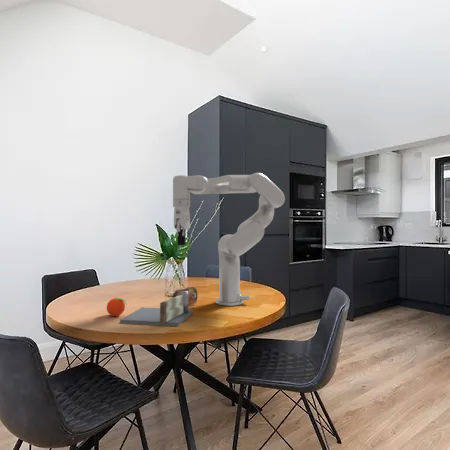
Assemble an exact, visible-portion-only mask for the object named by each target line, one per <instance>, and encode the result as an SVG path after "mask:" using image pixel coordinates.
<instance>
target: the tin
mask: <svg viewBox="0 0 450 450" xmlns="http://www.w3.org/2000/svg"><path fill="white" fill-rule="evenodd" d="M181 291H188V308H190V307H193V306H195V305H196V303H197V301H198V290H197V288H196V287H194V286H187V287H183V288H179V289H176V290H174V292H173V294H172V298H174V297H176V296H179V295H181Z"/></svg>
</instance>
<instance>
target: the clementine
mask: <svg viewBox="0 0 450 450" xmlns="http://www.w3.org/2000/svg"><path fill="white" fill-rule="evenodd" d="M126 305H127V302H126V301H125V300H124V299H122V298H118V297H115V298H111V299H110V300H109V301H108V302H107V304H106V311H107V313H108V314H109V315H110V316H113V317H118V316H121V315H122V314H123V313H124V311H125V309H126Z"/></svg>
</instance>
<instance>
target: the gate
mask: <svg viewBox="0 0 450 450" xmlns="http://www.w3.org/2000/svg"><path fill="white" fill-rule="evenodd" d="M159 308H160V323H166V322H167V321H169V320H171V319H173V318H175V317H177V316H179V315H181V314H182V313H184V295H179V296H176V297H174V298H169V299H167V300H165V301H161V302H159Z"/></svg>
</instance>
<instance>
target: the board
mask: <svg viewBox="0 0 450 450" xmlns="http://www.w3.org/2000/svg"><path fill="white" fill-rule="evenodd" d="M193 311H194V310H193V309H188V313H186V314H183V313H182V314H181V315H179V316H177V317H175V318H173V319H171V320H169V321H167V322H166V323H160V307H144V306H143V307H142V306H141V307H140V308H138V309H136V310H135V311H133V312H132V313H129V314H128V315H126V316H124V317H122V318H120V320H119V324H133V325H150V326H165V327H166V326H167V327H169V326H170V327H179V326H180V325H182V324H183V323H184V321H186V320H187V319H188V318H189V317H190V316H191V315H192V314H193Z"/></svg>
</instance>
